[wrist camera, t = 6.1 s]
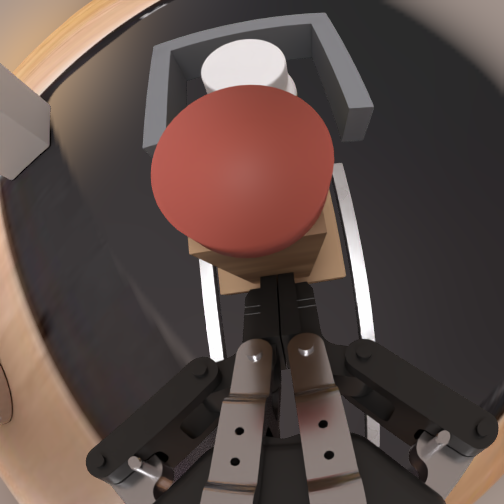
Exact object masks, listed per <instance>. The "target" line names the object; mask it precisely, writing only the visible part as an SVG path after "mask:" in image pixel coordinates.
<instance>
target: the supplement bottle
mask: <svg viewBox="0 0 504 504" xmlns="http://www.w3.org/2000/svg"><path fill="white" fill-rule="evenodd" d="M201 77H202V80H203V83H204V85H205V88H206V91H207V93H208V94H209V93H212V92H214V91H217V90H220V89H223V88H227V87H232V86H238V85H264V86H270V87H274V88H278V89H282V90H284V91H287V92H289V93H291V94H293V95H295V96H297V90H296V86H295V84H294V81H293V80H292V78H291V77H290V76H289V74H288V73H287V66H286V59H285V56H284V54H283V53H282V51H281V50H280V49H279V48H278V47H277V46H275V45H273V44H272V43H269V42H266V41H263V40H257V39H244V40H238V41H234V42H231V43H228V44H225V45H223V46H221V47H219V48H218V49H216V50H215V51H214V52H212V53H211V54H210V55H209V56H208V57H207V59H206V60H205V62H204V64H203V66H202V69H201Z"/></svg>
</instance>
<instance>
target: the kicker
mask: <svg viewBox="0 0 504 504" xmlns="http://www.w3.org/2000/svg"><path fill="white" fill-rule="evenodd" d="M333 166H334V149H333V145H332V140H331V137H330V134H329V131H328V129H327V127H326V125H325V124H324V122H323V120H322V119H321V117H320V116H319V115H318V114H317V112H316V111H315V110H314V109H313V108H312V107H311V106H310V105H309V104H307V103H306V102H305V101H303V100H302V99H300V98H298V97H297V96H295V95H293V94H291V93H289V92H287V91H284V90H282V89H278V88H274V87H270V86H264V85H238V86H232V87H227V88H223V89H220V90H217V91H214V92H212V93H209V94H207V95H205V96H203V97H201V98H199V99H198V100H196V101H194V102H193V103H191V104H190V105H188V106H187V107H186V108H185V109H183V110H182V111H181V112H180V113H179V114H178V115H177V116H176V117H175V118H174V119H173V120H172V121H171V123H170V124H169V125H168V126H167V128H166V129H165V131H164V132H163V134H162V136H161V138H160V140H159V142H158V144H157V146H156V149H155V152H154V155H153V161H152V166H151V184H152V189H153V194H154V196H155V199H156V202H157V204H158V206H159V208H160V210H161V212H162V213H163V215H164V216H165V217H166V219H167V220H168V221H169V222H170V223H171V224H172V225H173V226H174V227H175V228H176V229H178V230H179V231H180V232H182V233H183V234H185V235H186V236H188V244H189V254H190V255H192V256H195V257H197V258H199V259H201V260H203V261H205V262H207V263H209V264H212V265H214V266H216V267H218V275H219V285H220V294H222V295H232V294H240V293H248V292H249V291H250V289H256V288H260V277H263V276H270V275H277V279H278V274H284V273H290V272H293V273H294V280H295V283H299V282H306V281H307V283H308V284H311V283H317V282H323V281H330V280H336V279H341V278H344V277H345V276H346V274H345V268H344V262H343V256H342V250H341V244H340V239H339V234H338V229H337V224H336V219H335V214H334V209H333V205H332V200H331V195H330V191H329V186H330V182H331V178H332V174H333Z"/></svg>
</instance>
